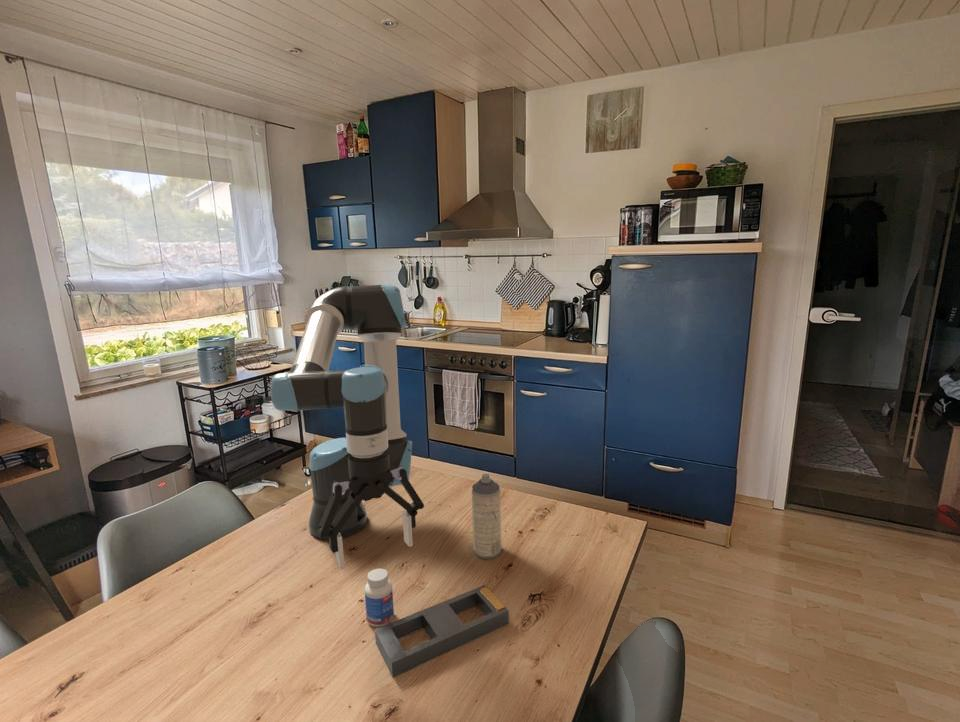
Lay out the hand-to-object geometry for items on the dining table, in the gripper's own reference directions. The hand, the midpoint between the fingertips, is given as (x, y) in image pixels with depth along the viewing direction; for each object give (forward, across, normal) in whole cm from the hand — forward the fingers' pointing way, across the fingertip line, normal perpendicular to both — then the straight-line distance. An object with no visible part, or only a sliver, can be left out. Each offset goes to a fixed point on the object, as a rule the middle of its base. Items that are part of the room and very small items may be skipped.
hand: (375, 554), depth 95 cm
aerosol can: (+14, +30, +8) cm, 34 cm away
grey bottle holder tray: (+14, +9, -10) cm, 20 cm away
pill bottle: (+15, 0, 0) cm, 15 cm away
